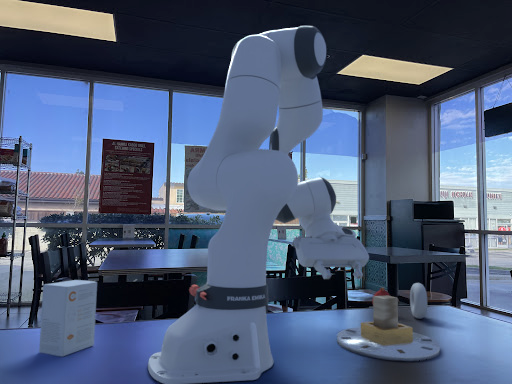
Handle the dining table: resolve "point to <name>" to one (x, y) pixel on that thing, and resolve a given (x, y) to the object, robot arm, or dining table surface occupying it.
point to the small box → (68, 317)
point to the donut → (418, 300)
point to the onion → (381, 293)
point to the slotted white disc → (388, 342)
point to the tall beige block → (385, 311)
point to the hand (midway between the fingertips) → (344, 277)
